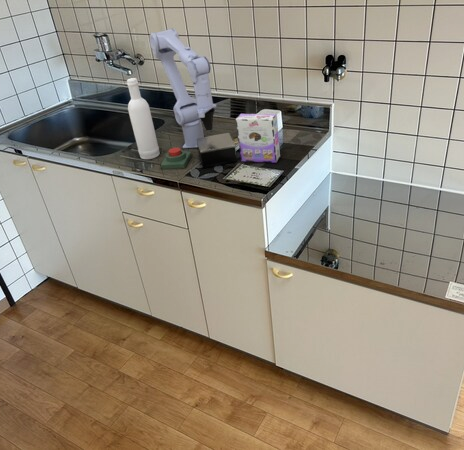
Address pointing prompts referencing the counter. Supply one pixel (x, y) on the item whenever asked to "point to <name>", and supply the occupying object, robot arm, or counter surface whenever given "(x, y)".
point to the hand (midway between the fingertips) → (209, 129)
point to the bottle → (142, 122)
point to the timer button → (174, 152)
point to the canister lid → (215, 142)
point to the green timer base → (176, 160)
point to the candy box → (258, 137)
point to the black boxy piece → (218, 157)
